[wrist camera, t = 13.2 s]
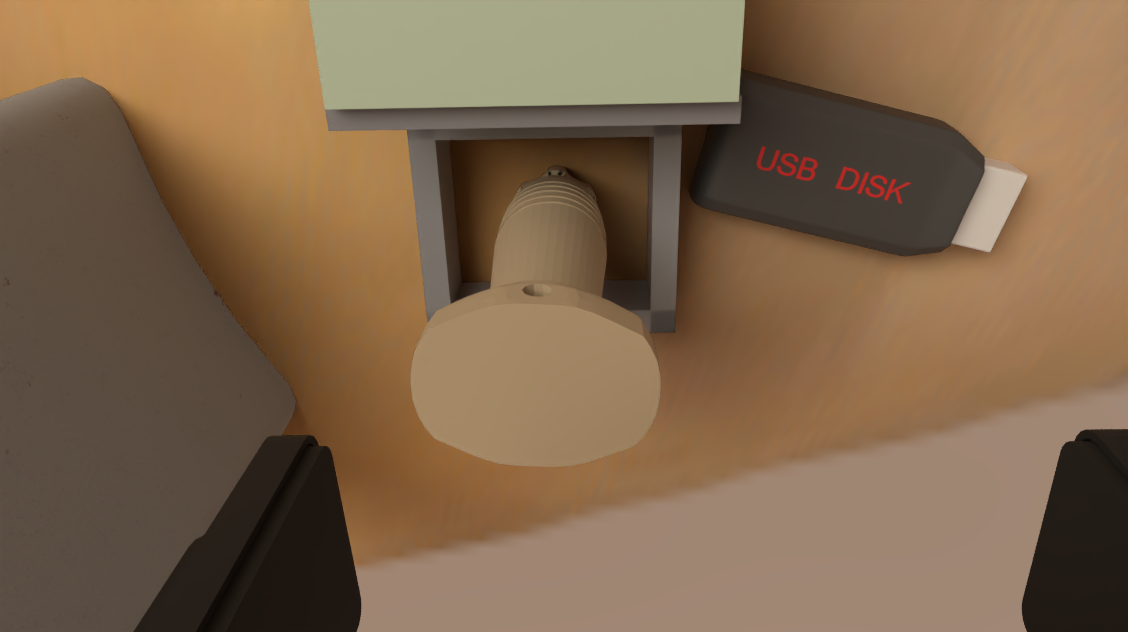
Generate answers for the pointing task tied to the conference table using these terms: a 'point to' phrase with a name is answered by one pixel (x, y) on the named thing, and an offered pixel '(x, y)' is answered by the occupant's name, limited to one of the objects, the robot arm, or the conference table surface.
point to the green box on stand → (533, 100)
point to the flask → (108, 373)
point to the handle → (539, 344)
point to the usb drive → (852, 172)
